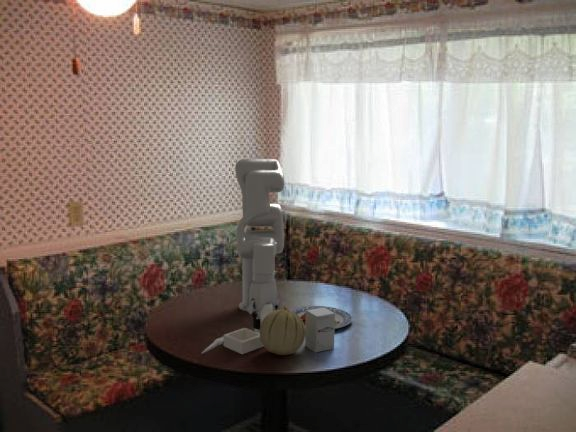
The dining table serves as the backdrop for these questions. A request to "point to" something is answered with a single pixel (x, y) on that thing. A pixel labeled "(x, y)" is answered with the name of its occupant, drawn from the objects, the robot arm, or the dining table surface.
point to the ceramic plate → (340, 315)
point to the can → (264, 313)
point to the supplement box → (319, 329)
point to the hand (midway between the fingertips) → (264, 325)
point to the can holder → (243, 340)
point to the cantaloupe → (282, 332)
